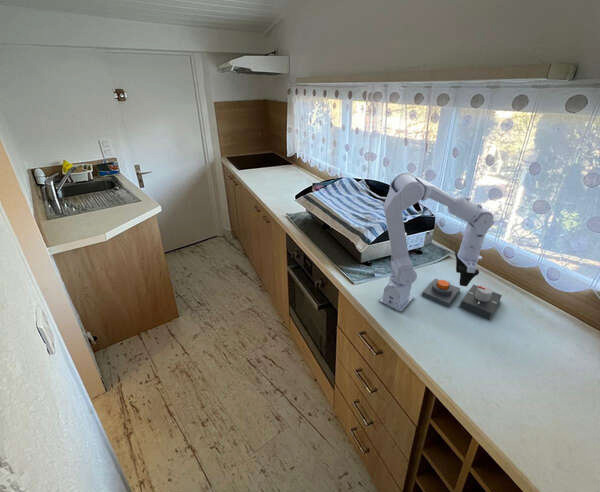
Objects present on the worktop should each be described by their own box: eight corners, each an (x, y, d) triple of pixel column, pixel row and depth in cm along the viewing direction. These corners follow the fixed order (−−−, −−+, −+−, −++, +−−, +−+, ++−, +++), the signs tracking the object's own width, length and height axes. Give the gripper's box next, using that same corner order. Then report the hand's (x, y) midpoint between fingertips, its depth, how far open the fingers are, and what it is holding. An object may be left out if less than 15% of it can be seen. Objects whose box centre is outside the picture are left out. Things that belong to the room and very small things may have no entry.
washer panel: (489, 320, 97) (491, 312, 96) (459, 307, 103) (461, 300, 101) (499, 301, 105) (502, 294, 103) (471, 290, 110) (473, 283, 109)
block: (447, 307, 103) (450, 299, 101) (421, 295, 108) (423, 287, 107) (459, 291, 110) (461, 284, 108) (434, 281, 115) (436, 274, 114)
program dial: (491, 297, 102) (494, 288, 101) (487, 303, 100) (490, 294, 98) (477, 291, 105) (480, 282, 103) (472, 297, 102) (475, 288, 100)
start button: (445, 291, 105) (446, 287, 105) (435, 287, 108) (436, 283, 107) (449, 286, 108) (450, 282, 107) (439, 282, 110) (440, 278, 109)
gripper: (491, 257, 89) (478, 293, 96) (480, 234, 102) (470, 268, 108) (465, 253, 91) (454, 290, 98) (457, 232, 103) (448, 265, 110)
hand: (461, 278), depth 103 cm, fingers open, 7 cm apart
